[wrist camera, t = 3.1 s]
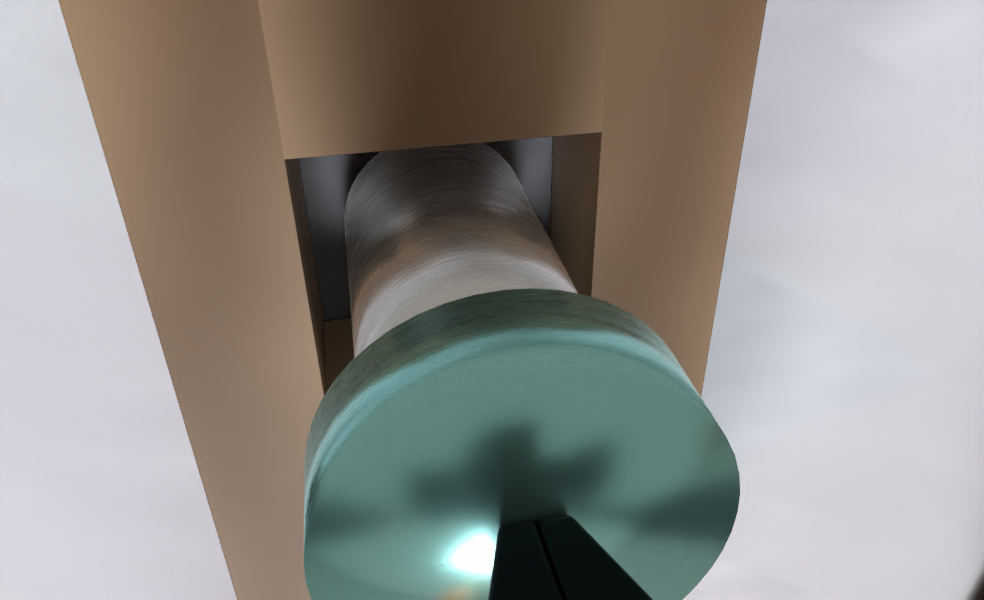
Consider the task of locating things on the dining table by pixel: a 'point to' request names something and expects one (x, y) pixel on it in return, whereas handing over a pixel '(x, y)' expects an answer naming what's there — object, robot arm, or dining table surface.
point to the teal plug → (495, 402)
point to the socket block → (381, 127)
